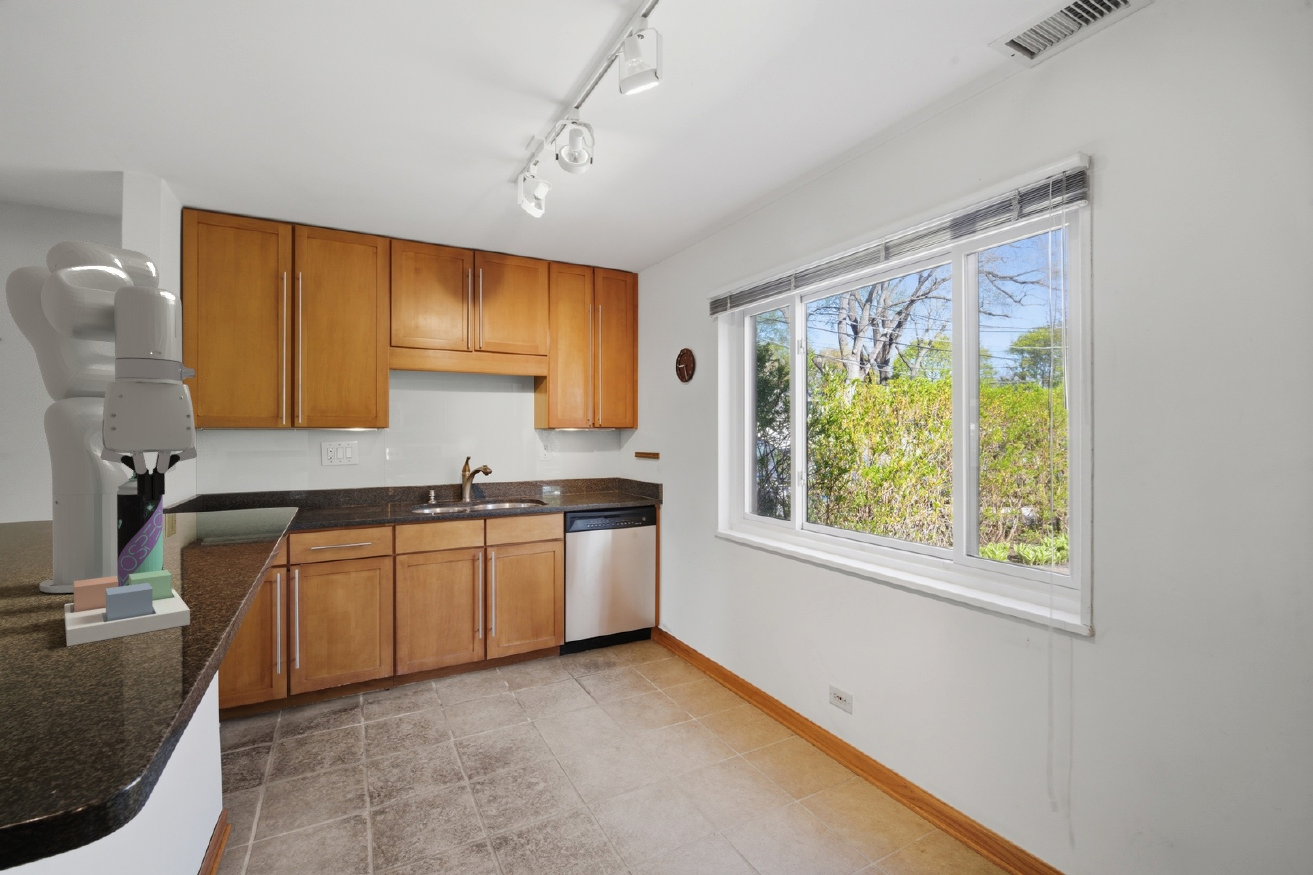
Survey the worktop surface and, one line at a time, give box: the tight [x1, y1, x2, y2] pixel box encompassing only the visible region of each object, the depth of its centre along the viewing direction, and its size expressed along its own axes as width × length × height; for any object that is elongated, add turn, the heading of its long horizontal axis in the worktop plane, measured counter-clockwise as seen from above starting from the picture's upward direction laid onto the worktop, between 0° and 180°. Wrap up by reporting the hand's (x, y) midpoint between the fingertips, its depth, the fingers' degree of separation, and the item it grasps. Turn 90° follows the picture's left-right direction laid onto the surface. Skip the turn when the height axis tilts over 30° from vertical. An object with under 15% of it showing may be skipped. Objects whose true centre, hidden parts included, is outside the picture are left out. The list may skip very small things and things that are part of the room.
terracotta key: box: [73, 576, 118, 612], centre depth 84 cm, size 4×4×4 cm
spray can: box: [117, 470, 164, 587], centre depth 95 cm, size 6×6×20 cm
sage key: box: [129, 569, 173, 601], centre depth 88 cm, size 4×4×4 cm
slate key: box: [106, 583, 153, 621], centre depth 81 cm, size 4×4×4 cm
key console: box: [64, 588, 191, 647], centre depth 83 cm, size 15×12×2 cm
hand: (151, 500), depth 88 cm, fingers closed
